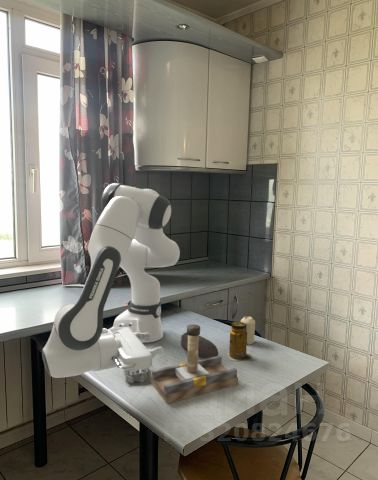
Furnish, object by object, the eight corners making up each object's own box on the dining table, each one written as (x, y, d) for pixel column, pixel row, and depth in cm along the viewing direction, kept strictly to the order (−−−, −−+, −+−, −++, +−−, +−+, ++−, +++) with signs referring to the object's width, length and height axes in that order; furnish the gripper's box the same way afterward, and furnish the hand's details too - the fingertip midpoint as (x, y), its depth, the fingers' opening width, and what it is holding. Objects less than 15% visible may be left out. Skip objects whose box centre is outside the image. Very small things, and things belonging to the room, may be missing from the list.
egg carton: (122, 367, 124) (122, 356, 123) (145, 366, 126) (145, 354, 125) (123, 384, 114) (123, 372, 113) (148, 382, 115) (148, 370, 115)
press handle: (185, 385, 109) (186, 333, 107) (175, 374, 115) (176, 325, 113) (209, 379, 113) (211, 329, 111) (198, 369, 119) (199, 321, 117)
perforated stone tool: (221, 359, 131) (222, 340, 130) (213, 364, 127) (214, 345, 126) (188, 346, 140) (188, 329, 139) (179, 351, 136) (179, 333, 135)
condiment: (226, 351, 137) (227, 320, 136) (249, 351, 138) (250, 320, 136) (230, 361, 130) (232, 328, 128) (254, 360, 131) (256, 327, 129)
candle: (237, 342, 146) (238, 317, 144) (243, 337, 150) (244, 313, 149) (250, 346, 143) (251, 320, 141) (256, 341, 147) (257, 316, 146)
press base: (166, 403, 104) (166, 388, 104) (150, 382, 115) (150, 369, 114) (238, 384, 115) (238, 370, 115) (217, 366, 126) (218, 354, 125)
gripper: (118, 357, 91) (170, 347, 97) (98, 326, 109) (143, 319, 115) (118, 381, 92) (169, 369, 98) (98, 346, 110) (143, 338, 116)
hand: (155, 342), depth 107 cm, fingers open, 8 cm apart
